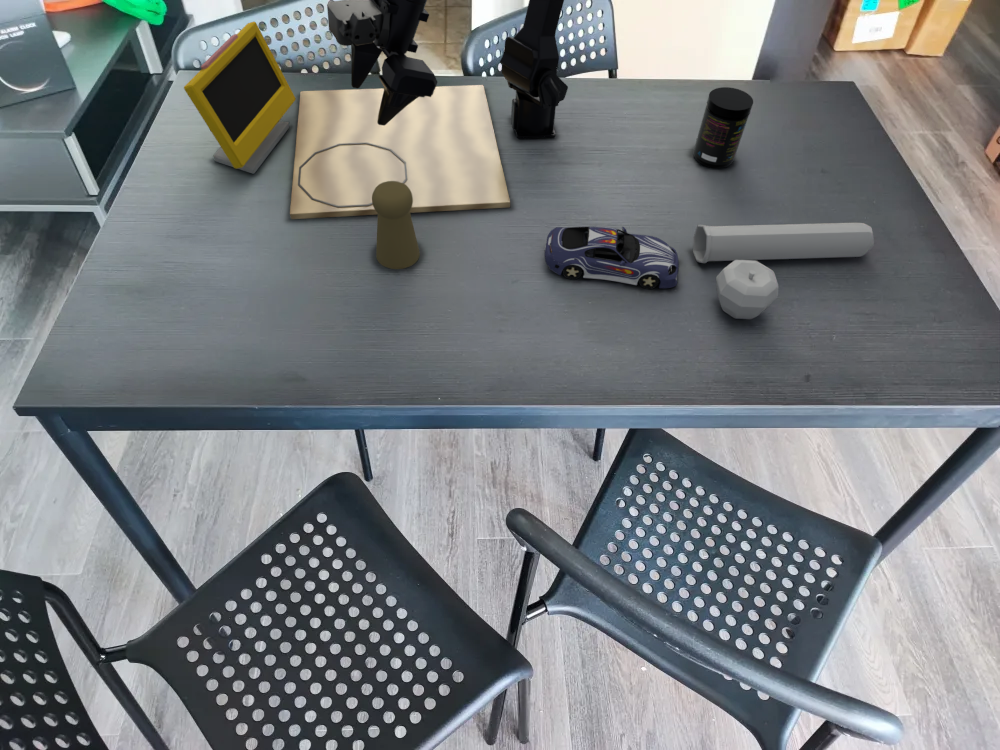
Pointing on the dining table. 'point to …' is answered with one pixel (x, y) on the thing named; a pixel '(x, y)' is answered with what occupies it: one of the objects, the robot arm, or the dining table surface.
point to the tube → (781, 241)
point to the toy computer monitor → (242, 99)
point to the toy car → (611, 256)
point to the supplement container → (722, 126)
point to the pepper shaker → (395, 226)
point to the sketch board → (395, 152)
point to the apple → (746, 288)
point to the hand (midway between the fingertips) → (367, 105)
